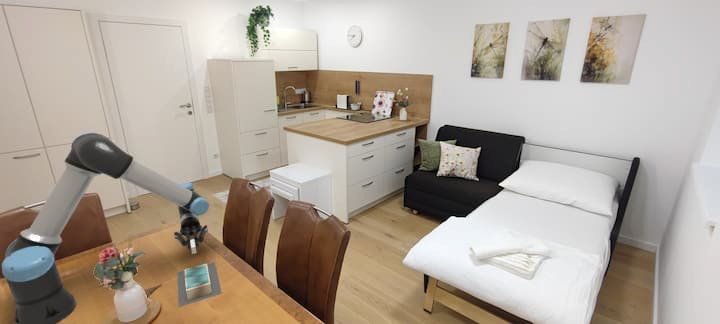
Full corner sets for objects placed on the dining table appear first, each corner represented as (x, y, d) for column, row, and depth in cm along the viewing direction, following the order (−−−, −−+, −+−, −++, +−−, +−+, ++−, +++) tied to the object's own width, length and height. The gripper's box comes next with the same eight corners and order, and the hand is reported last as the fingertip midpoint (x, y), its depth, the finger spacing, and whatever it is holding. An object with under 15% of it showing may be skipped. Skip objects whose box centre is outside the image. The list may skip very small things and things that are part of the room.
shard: (162, 287, 125) (162, 283, 125) (164, 298, 119) (163, 294, 119) (128, 298, 120) (127, 294, 119) (128, 311, 114) (127, 306, 113)
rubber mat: (178, 308, 114) (178, 307, 113) (177, 274, 132) (177, 272, 132) (221, 295, 120) (221, 293, 120) (215, 263, 138) (214, 262, 138)
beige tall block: (186, 278, 128) (187, 300, 117) (184, 268, 127) (185, 290, 115) (208, 271, 132) (212, 292, 120) (206, 262, 131) (210, 282, 119)
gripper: (207, 228, 149) (213, 254, 129) (175, 235, 143) (176, 263, 123) (205, 213, 147) (210, 237, 127) (172, 220, 141) (172, 246, 121)
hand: (193, 250), depth 125 cm, fingers closed
